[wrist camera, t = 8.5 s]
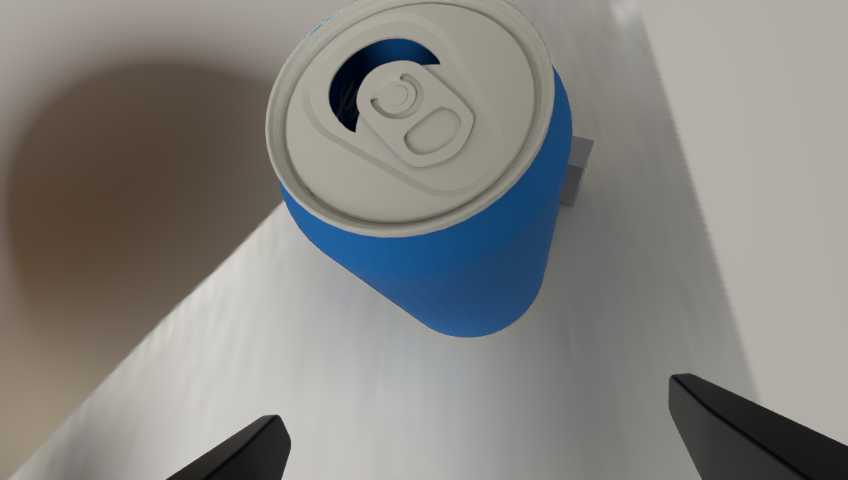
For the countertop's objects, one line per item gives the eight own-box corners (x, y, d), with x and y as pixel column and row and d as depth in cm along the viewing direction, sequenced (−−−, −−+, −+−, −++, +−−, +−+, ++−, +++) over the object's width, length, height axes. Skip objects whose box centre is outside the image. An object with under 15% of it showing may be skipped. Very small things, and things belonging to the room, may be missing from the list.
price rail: (582, 179, 19) (594, 137, 16) (572, 206, 19) (583, 168, 16) (440, 141, 22) (427, 97, 18) (430, 164, 21) (414, 123, 18)
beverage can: (476, 173, 21) (427, -80, 10) (576, 272, 18) (667, 84, 7) (371, 260, 20) (194, 101, 9) (459, 372, 18) (361, 340, 7)
